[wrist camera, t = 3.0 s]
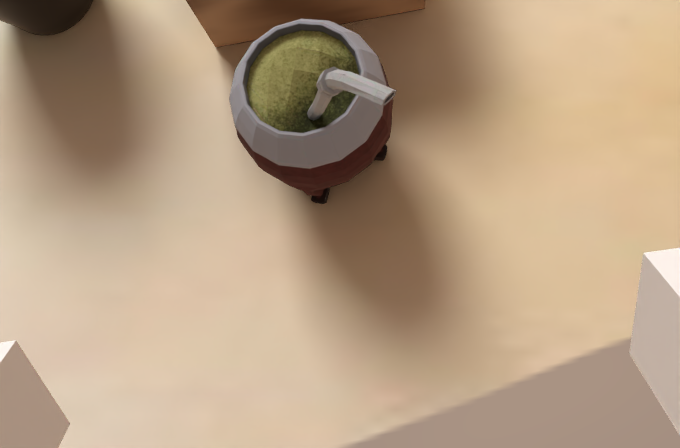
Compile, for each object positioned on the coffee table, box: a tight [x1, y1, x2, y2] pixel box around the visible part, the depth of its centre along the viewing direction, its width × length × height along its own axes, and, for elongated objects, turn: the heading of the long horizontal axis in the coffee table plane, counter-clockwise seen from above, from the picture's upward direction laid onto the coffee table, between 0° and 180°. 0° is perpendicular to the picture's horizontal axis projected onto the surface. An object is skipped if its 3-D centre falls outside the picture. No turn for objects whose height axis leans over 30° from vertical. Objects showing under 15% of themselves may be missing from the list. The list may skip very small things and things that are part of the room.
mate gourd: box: [229, 19, 397, 204], centre depth 22 cm, size 8×8×15 cm
